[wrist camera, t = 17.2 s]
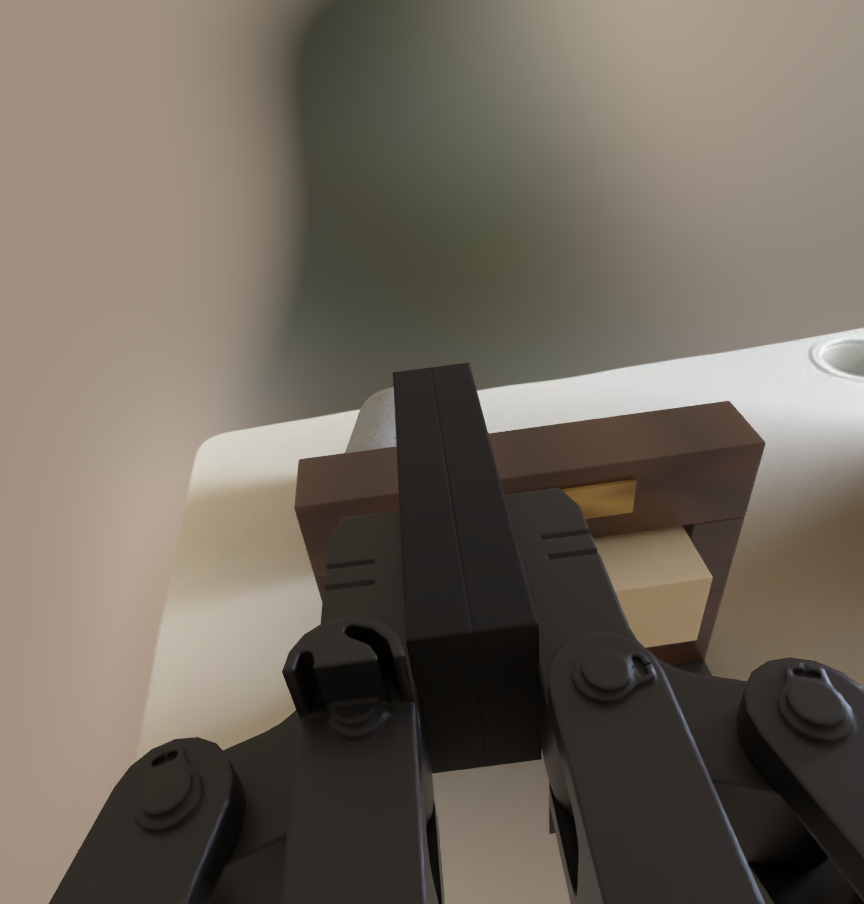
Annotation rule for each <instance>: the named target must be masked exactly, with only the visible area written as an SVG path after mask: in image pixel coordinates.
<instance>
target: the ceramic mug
mask: <svg viewBox="0 0 864 904" xmlns="http://www.w3.org/2000/svg"><path fill="white" fill-rule="evenodd" d="M395 446H396V426H395V405H394V387H392V388H388V389H384V390H381V391H379V392H377V393H375V394H374V395H372V396H371V397H370V398H368V399H367V401H366V402H365V403H364V404H363V406H362V408H361V410H360V412H359V415H358V418H357V421H356V424H355V427H354V430H353V432H352V435H351V438H350V441H349V444H348V447H347V450H346V452H345V453H351V452H358V451H366V450H373V449H380V448H388V447H395Z"/></svg>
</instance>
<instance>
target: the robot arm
mask: <svg viewBox="0 0 864 904" xmlns="http://www.w3.org/2000/svg"><path fill="white" fill-rule="evenodd" d="M393 382H394V405H395V426H396V447H397V467H398V488H399V509H400V510H396V511H388V512H380V513H372V514H365V515H357V516H349V517H343V518H342V520H341V521H340V523H339V524H338V526H337V527H336V529H335V531H334V532H333V534H332V535H331V537H330V539H329V540H328V549H327V560H326V568H327V570H326V572H325V583H324V588H325V591H324V594H323V605H322V616H321V625H319V626H317V627H316V628H314V629H313V630H311V631H310V632H308V633H306V634H305V635H304V636H303V637H302V638H301V639H300V640H299V641H298V643H297V644H296V645H295V646H294V647H293V648H292V650H291V651H290V652H289V655H288V657H287V660H286V663H285V666H284V668H283V671H282V673H283V675H284V678H285V681H286V683H287V686H288V689H289V691H290V694H291V697H292V699H293V702H294V705H295V707H296V711H295V712H294V713H293V714H291V715H290V716H289V717H288V718H287V719H285V720H284V721H283V722H282V723H280V724H279V725H277V726H275V727H273V728H272V729H270V730H268V731H266V732H264V733H262V734H260V735H258V736H255V737H253V738H251V739H248V740H246V741H244V742H242V743H239V744H237V745H235V746H233V747H230V748H228V749H226V750H224V751H222V749H221V748H220V747H219V746H218V745H217V744H216V743H213V742H210V741H207V740H204V739H201V738H199V737H195V738H184V739H175V740H173V741H170V742H168V743H166V744H163V745H161V746H159V747H156V748H154V749H152V750H151V751H149V752H148V753H147V754H146V755H144V756H143V757H142V758H140V759H139V760H138V761H137V762H135V763H134V764H133V765H132V766H131V767H130V768H129V769H128V771H127V772H126V773H125V774H124V776H123V777H122V778H121V780H120V781H119V782H118V784H117V785H116V786H115V787H114V789H113V791H112V792H111V794H110V796H109V798H108V800H107V801H106V803H105V805H104V807H103V808H102V810H101V812H100V814H99V815H98V817H97V819H96V821H95V823H94V825H93V826H92V828H91V830H90V831H89V833H88V835H87V837H86V839H85V840H84V842H83V844H82V846H81V847H80V849H79V851H78V853H77V855H76V856H75V858H74V860H73V862H72V863H71V865H70V867H69V869H68V870H67V872H66V874H65V876H64V878H63V879H62V881H61V883H60V885H59V886H58V889H57V890H56V892H55V894H54V895H53V897H52V899H51V901H50V903H49V904H445V901H444V889H443V876H442V864H441V851H440V839H439V826H438V817H437V812H436V807H435V802H434V794H433V781H432V773H439V772H446V771H454V770H462V769H470V768H477V767H485V766H493V765H501V764H509V763H516V762H524V761H532V760H540V759H542V755H541V748H542V752H543V757H544V761H545V766H546V770H547V774H548V779H549V823H550V834H552V833H556V837H557V841H558V846H559V851H560V855H561V860H562V865H563V869H564V874H565V878H566V883H567V888H568V892H569V897H570V901H571V904H864V688H862V687H861V686H860V685H858V684H857V683H856V682H854V681H853V680H852V679H850V678H849V677H848V676H846V675H845V674H843V673H842V672H840V671H838V670H835V669H833V668H830V667H828V666H826V665H823V664H821V663H818V662H816V661H810V660H803V659H796V658H785V659H779V660H773V661H768V662H766V663H765V664H763V665H762V666H760V667H759V668H757V669H756V670H754V671H753V672H752V673H751V675H750V677H749V679H748V681H747V682H746V681H740V680H734V679H727V678H721V677H714V676H708V675H702V674H697V673H693V672H689V671H685V670H681V669H678V668H676V667H674V666H672V665H669V664H667V663H665V662H663V661H661V660H660V659H659V658H657V657H656V656H654V655H653V654H652V652H650V651H649V650H647V649H646V648H645V647H644V646H643V645H642V644H641V643H640V642H639V641H638V640H637V639H636V637H635V635H634V633H633V632H632V630H631V628H630V626H629V624H628V621H627V619H626V617H625V614H624V612H623V609H622V607H621V604H620V602H619V600H618V597H617V595H616V592H615V590H614V588H613V585H612V583H611V580H610V578H609V575H608V573H607V571H606V568H605V566H604V563H603V561H602V558H601V556H600V554H598V550H597V546H596V544H595V542H594V539H593V537H592V534H590V531H589V527H588V525H587V522H586V520H585V517H584V515H583V513H582V510H581V508H580V506H579V505H578V504H577V503H576V502H575V501H574V500H572V499H571V498H570V497H569V496H568V495H567V494H566V493H565V492H563V491H562V490H561V489H560V488H559V487H558V488H550V489H542V490H535V491H527V492H519V493H511V494H504V492H503V488H502V484H501V481H500V477H499V473H498V469H497V466H496V462H495V458H494V454H493V451H492V447H491V443H490V439H489V436H488V432H487V428H486V424H485V421H484V417H483V413H482V409H481V406H480V402H479V398H478V394H477V391H476V387H475V383H474V379H473V376H472V372H471V368H470V365H469V363H462V364H455V365H447V366H439V367H432V368H424V369H416V370H408V371H400V372H394V373H393Z"/></svg>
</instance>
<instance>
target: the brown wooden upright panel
mask: <svg viewBox="0 0 864 904" xmlns="http://www.w3.org/2000/svg"><path fill="white" fill-rule="evenodd" d="M488 436H489V439H490V443H491V447H492V451H493V454H494V458H495V462H496V466H497V469H498V473H499V477H500V481H501V484H502V488H503V492H504V494H511V493H519V492H527V491H535V490H542V489H550V488H558V487H559V488H560V489H561V490H562V491H563V492H565V493H566V494H567V495H568V496H569V497H570V498H571V499H572V500H574V501H575V502H576V503H577V504H578V505H579V506H580V508H581V510H582V513H583V515H584V517H585V520H586V522H587V525H588V527H589V531H590V534H592V537H593V538H598V537H605V536H612V535H619V534H626V533H633V532H640V531H647V530H654V529H661V528H668V527H675V526H683V528H684V530H685V531H686V533H687V535H688V536H689V538H690V540H691V541H692V543H693V545H694V547H695V548H696V550H697V552H698V553H699V555H700V557H701V558H702V560H703V562H704V563H705V565H706V567H707V568H708V570H709V572H710V573H711V575H712V577H713V579H712V583H711V586H710V590H709V594H708V598H707V602H706V606H705V610H704V613H703V617H702V621H701V625H700V629H699V633H698V637H697V640H694V641H687V642H681V643H674V644H667V645H660V646H654V647H647V648H646V649H647V650H649V651H650V652H652V654H653V655H654V656H656V657H657V658H659V659H660V660H661V661H663V662H665V663H667V664H669V665H672V666H674V667H676V668H678V669H681V670H685V671H689V672H693V673H697V674H702V675H708V676H712V675H711V673H710V671H709V669H708V667H707V665H706V663H705V661H704V660H705V657H706V653H707V650H708V646H709V642H710V639H711V635H712V632H713V628H714V625H715V621H716V617H717V614H718V610H719V607H720V603H721V600H722V596H723V592H724V589H725V586H726V582H727V579H728V575H729V571H730V568H731V564H732V561H733V557H734V554H735V550H736V546H737V543H738V539H739V536H740V532H741V529H742V525H743V521H744V516H745V515H746V511H747V507H748V504H749V500H750V497H751V493H752V490H753V486H754V482H755V479H756V475H757V472H758V468H759V465H760V461H761V457H762V454H763V450H764V447H765V441H764V440H763V439H762V438H761V437H760V436H759V435H758V433H757V432H756V431H755V430H754V429H753V428H752V427H751V425H750V424H749V423H748V422H747V421H746V420H745V419H744V417H743V416H742V415H741V414H740V413H739V412H738V410H737V409H736V408H735V407H734V406H733V405H732V404H731V402H730V401H725V402H717V403H710V404H703V405H695V406H688V407H681V408H673V409H666V410H659V411H651V412H644V413H637V414H629V415H622V416H615V417H607V418H600V419H593V420H586V421H578V422H571V423H564V424H556V425H549V426H542V427H534V428H527V429H520V430H512V431H505V432H498V433H490V434H488ZM396 510H400V509H399V488H398V467H397V447H396V446H395V447H388V448H380V449H373V450H366V451H358V452H351V453H344V454H336V455H329V456H322V457H314V458H307V459H300V460H299V464H298V475H297V486H296V497H295V512H296V515H297V519H298V522H299V525H300V529H301V532H302V536H303V539H304V542H305V546H306V549H307V552H308V556H309V559H310V563H311V566H312V569H313V573H314V576H315V579H316V583H317V586H318V589H319V593H320V596H321V600H322V603H323V594H324V591H325V588H324V583H325V572H326V570H327V568H326V560H327V549H328V540H329V539H330V537H331V535H332V534H333V532H334V531H335V529H336V527H337V526H338V524H339V523H340V521H341V520H342V518H343V517H349V516H357V515H365V514H372V513H380V512H388V511H396Z"/></svg>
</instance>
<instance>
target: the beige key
mask: <svg viewBox="0 0 864 904" xmlns="http://www.w3.org/2000/svg"><path fill="white" fill-rule="evenodd" d="M593 539H594V542H595V544H596V546H597V550H598V554H600V556H601V558H602V561H603V563H604V566H605V568H606V571H607V573H608V575H609V578H610V580H611V583H612V585H613V588H614V590H615V592H616V595H617V597H618V600H619V602H620V604H621V607H622V609H623V612H624V614H625V617H626V619H627V621H628V624H629V626H630V628H631V630H632V632H633V633H634V635H635V637H636V639H637V640H638V641H639V642H640V643H641V644H642V645H643V646H644V647H645V648H647V647H654V646H660V645H667V644H674V643H681V642H687V641H694V640H697V637H698V633H699V629H700V625H701V621H702V617H703V613H704V610H705V606H706V602H707V598H708V594H709V590H710V586H711V583H712V579H713V577H712V575H711V573H710V572H709V570H708V568H707V567H706V565H705V563H704V562H703V560H702V558H701V557H700V555H699V553H698V552H697V550H696V548H695V547H694V545H693V543H692V541H691V540H690V538H689V536H688V535H687V533H686V531H685V530H684V528H683V526H675V527H668V528H661V529H654V530H647V531H640V532H633V533H626V534H619V535H612V536H605V537H598V538H593Z"/></svg>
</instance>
